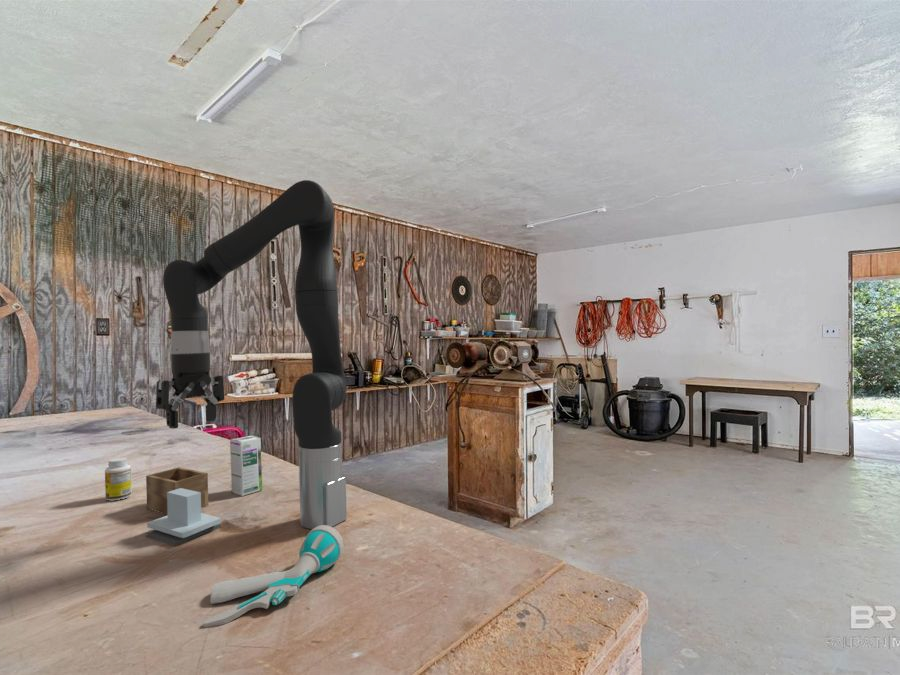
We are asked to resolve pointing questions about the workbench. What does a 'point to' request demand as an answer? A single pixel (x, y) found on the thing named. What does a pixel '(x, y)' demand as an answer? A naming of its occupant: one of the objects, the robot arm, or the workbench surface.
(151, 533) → the mat
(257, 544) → the workbench surface
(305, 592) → the workbench surface
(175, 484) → the crate
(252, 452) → the syrup box
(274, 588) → the garden hose nozzle
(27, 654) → the workbench surface
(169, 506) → the lid
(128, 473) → the supplement bottle
